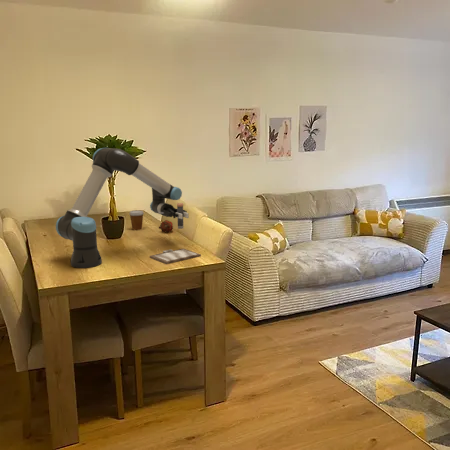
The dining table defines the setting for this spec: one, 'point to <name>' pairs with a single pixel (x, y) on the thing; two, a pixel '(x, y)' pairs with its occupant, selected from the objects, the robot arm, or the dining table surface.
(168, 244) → the dining table surface
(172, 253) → the clipboard
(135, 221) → the disposable coffee cup
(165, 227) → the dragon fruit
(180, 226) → the marker
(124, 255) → the dining table surface
